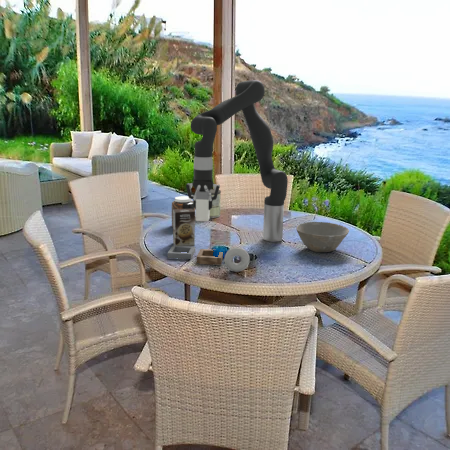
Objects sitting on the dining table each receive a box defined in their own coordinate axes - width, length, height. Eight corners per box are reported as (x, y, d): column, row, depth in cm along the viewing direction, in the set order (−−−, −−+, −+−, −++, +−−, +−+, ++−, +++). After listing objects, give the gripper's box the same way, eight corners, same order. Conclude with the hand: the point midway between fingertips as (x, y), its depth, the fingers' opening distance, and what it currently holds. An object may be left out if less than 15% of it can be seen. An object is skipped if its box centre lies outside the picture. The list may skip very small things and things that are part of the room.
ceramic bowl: (286, 244, 230) (287, 223, 227) (329, 240, 237) (331, 220, 235) (311, 260, 210) (312, 237, 207) (357, 255, 217) (359, 233, 215)
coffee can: (198, 215, 278) (198, 190, 274) (212, 212, 284) (213, 188, 280) (209, 218, 270) (209, 193, 266) (224, 216, 277) (224, 191, 273)
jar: (185, 230, 248) (185, 201, 244) (167, 227, 254) (166, 198, 249) (199, 225, 257) (199, 197, 253) (181, 222, 263) (180, 194, 259)
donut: (249, 270, 197) (249, 246, 195) (249, 273, 194) (250, 248, 191) (223, 269, 197) (224, 245, 194) (224, 272, 194) (224, 248, 191)
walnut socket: (223, 256, 212) (223, 250, 211) (220, 265, 202) (221, 258, 201) (200, 255, 213) (200, 248, 212) (196, 263, 203) (196, 256, 202)
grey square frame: (195, 252, 217) (195, 246, 216) (191, 259, 207) (191, 254, 207) (172, 250, 218) (172, 245, 217) (167, 258, 208) (167, 252, 208)
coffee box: (175, 247, 223) (175, 212, 219) (172, 242, 229) (172, 208, 225) (195, 245, 225) (195, 211, 221) (192, 241, 231) (192, 207, 227)
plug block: (209, 218, 206) (210, 189, 203) (208, 221, 201) (208, 192, 198) (197, 217, 206) (197, 189, 203) (195, 220, 202) (196, 191, 198)
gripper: (222, 167, 201) (221, 207, 206) (187, 165, 202) (186, 206, 207) (220, 170, 194) (219, 212, 198) (183, 168, 195) (183, 210, 200)
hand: (202, 209), depth 203 cm, fingers closed on plug block, 5 cm apart
